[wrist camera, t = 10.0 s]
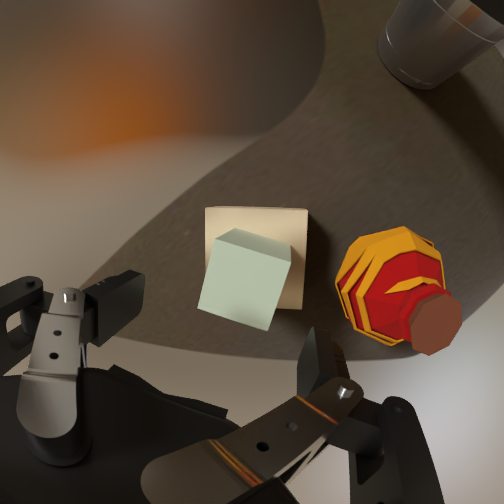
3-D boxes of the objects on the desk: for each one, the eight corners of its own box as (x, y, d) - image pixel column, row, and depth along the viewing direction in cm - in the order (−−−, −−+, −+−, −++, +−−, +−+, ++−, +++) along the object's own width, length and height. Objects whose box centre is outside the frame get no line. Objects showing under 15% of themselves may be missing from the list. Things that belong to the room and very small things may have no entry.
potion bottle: (417, 223, 26) (506, 246, 11) (404, 311, 28) (467, 383, 13) (328, 215, 27) (371, 233, 13) (320, 309, 29) (341, 398, 15)
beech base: (219, 206, 29) (205, 207, 24) (304, 208, 28) (307, 210, 23) (219, 287, 31) (206, 302, 26) (299, 291, 29) (301, 309, 25)
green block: (235, 227, 24) (214, 238, 17) (290, 244, 24) (291, 262, 17) (221, 279, 25) (197, 308, 18) (273, 296, 25) (267, 331, 18)
